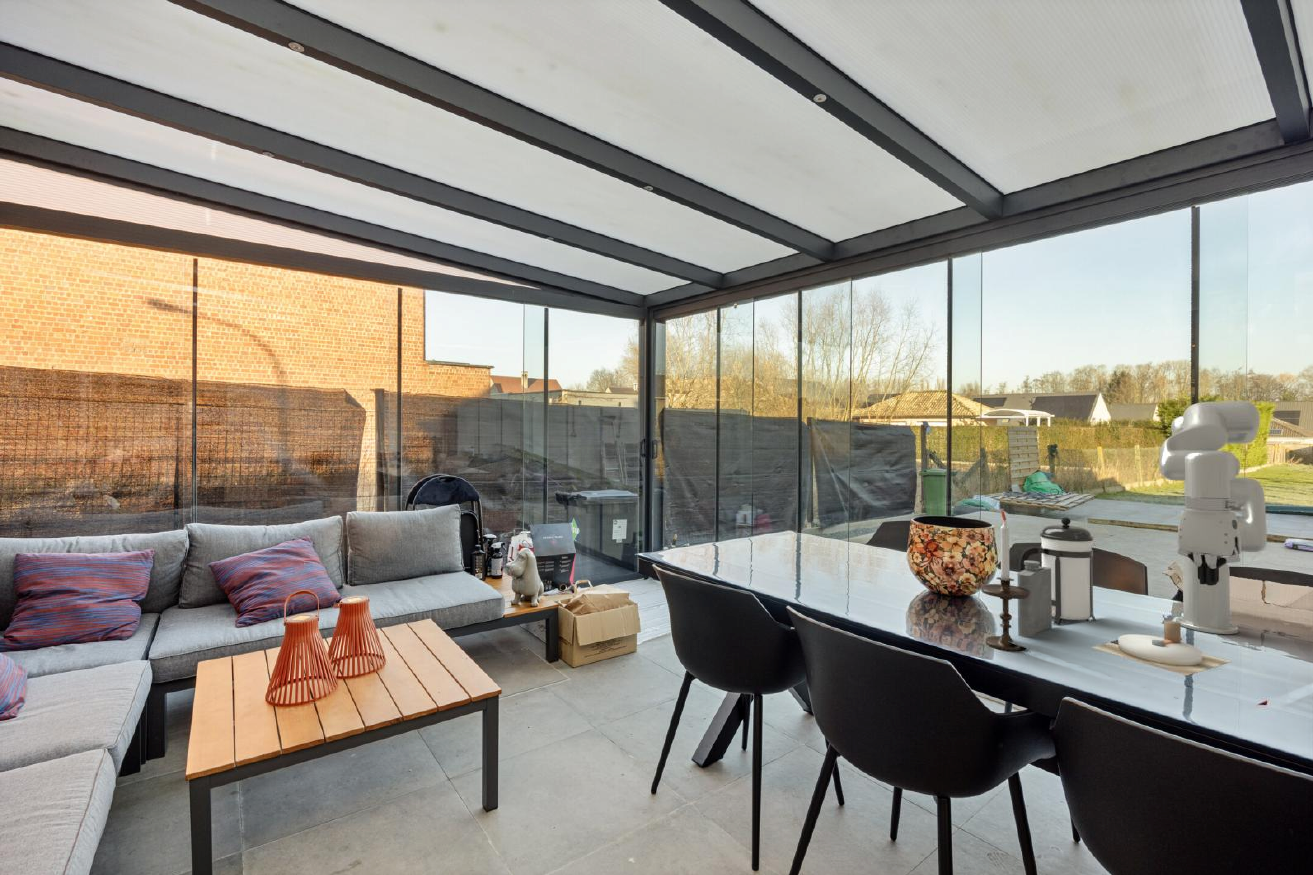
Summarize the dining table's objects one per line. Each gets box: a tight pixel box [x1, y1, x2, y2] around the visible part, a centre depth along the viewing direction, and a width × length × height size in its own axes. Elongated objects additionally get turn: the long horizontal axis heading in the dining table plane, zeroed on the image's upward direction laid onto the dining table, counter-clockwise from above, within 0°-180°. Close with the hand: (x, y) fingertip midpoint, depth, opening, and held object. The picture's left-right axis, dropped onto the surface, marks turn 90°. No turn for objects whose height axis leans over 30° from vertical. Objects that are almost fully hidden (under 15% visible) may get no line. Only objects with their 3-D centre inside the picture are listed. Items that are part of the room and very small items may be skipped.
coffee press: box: [1018, 517, 1098, 626], centre depth 170 cm, size 17×16×30 cm
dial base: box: [1090, 639, 1232, 677], centre depth 138 cm, size 19×19×2 cm
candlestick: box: [980, 508, 1030, 653], centre depth 149 cm, size 11×11×35 cm
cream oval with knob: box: [1117, 620, 1203, 665], centre depth 139 cm, size 16×15×6 cm
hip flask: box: [1017, 560, 1053, 638], centre depth 157 cm, size 16×4×20 cm, turn 127°
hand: (1208, 583), depth 134 cm, fingers closed
